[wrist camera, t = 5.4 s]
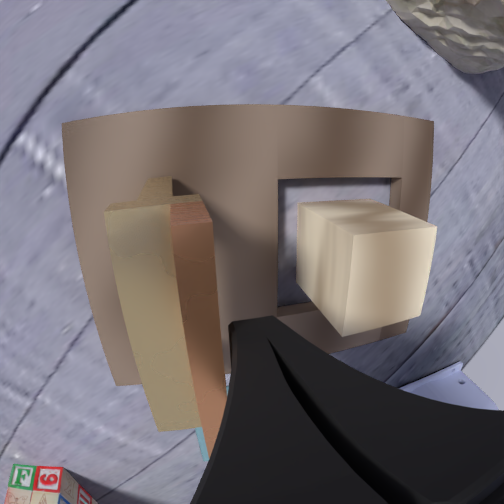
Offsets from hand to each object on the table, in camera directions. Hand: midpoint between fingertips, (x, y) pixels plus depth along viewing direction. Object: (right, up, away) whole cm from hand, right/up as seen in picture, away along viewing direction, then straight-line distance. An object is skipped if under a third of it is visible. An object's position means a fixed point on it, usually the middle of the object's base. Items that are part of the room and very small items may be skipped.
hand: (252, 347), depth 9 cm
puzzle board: (+1, +3, +8) cm, 8 cm away
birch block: (+4, +3, +9) cm, 10 cm away
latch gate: (-4, +2, +5) cm, 7 cm away
